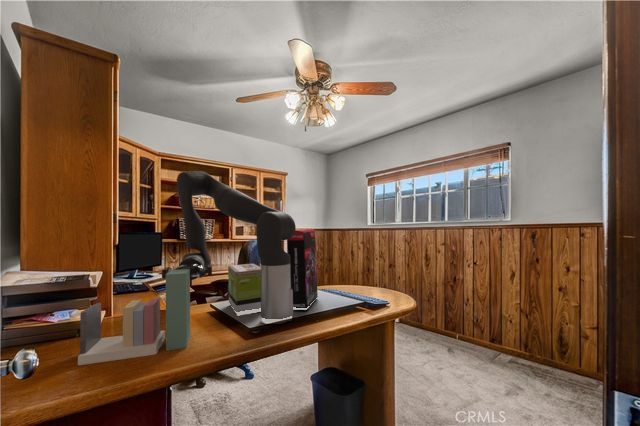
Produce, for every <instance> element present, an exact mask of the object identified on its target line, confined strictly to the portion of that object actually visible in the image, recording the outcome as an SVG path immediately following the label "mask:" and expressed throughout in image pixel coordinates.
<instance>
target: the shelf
mask: <svg viewBox="0 0 640 426" xmlns="http://www.w3.org/2000/svg"><path fill="white" fill-rule="evenodd" d="M142 301H143V299H133V300H131V301H129V303H127V304H126V305H124V307H123V308H122V335H116V336H115V335H114V336H108V337H101V340H100V341H99V342H98V343H97V344H95V345H94V346H93V347H92V348H91V349H90V350H89V351H88V352H87V353H85V354H80V353H79V355H77V366H82V365H91V364H98V363H105V362H113V361H118V360H126V359H131V358H133V359H134V358H140V357H148V356H153V355H154V356H155V355H157V354H158V352H159V350H160V348H161V347H162V345H163V343H164V341H165V340H166V329H165V330H161V297H155V298H154V297H153V298H150V299H149V300H148V301H147V302H142Z"/></svg>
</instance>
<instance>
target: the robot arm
mask: <svg viewBox="0 0 640 426" xmlns="http://www.w3.org/2000/svg"><path fill="white" fill-rule="evenodd" d="M176 188H177V195H178V199H179V202H180V203H179V204H180V209H181V212H182V215H183V221H184V229H185V230H184V231H185V243H186V244H185V245H186V247H187V248H188V249H191V250H196V251H199V252H188V253H185V254H184V255H183V257H182V261H181V262H179V265H178V266H174V267H173V268H171V267H170V266H169V267H164V268H163V269H162V270H161V279H163V280H164V279H165V280H166V274H167V273H168V272H170V271H171V270H182V269H190V281H194V280H196V279H199V278H201V279H203V277H205V276H207V275H208V276H212V275H213V266H212V258H211V256H210V253H209V250H208V247H207V243H206V229H205V224H204V222H203V220H202V218H201V217H200V216H199V214H198V212H197V210H195V207H194V203H193V197H194V196H206V197H207V196H208V197H210V198H212V199H213V203H214V205H215V207H216V208H217V210H219V212H221V213H222V214H224V215H226V216H228V217H230V218H232V219H234V220H237V221H241V222H245V223H249V224H253V225H256V228H255V232H256V247H257V255H258V257H259V262H260V265H259V267H260V272H261V313H260V318H261V317H262V318H265V319H283V318H287V317H290V316H293V317H294V311H293V290H292V288H291V258H290V254H288V253H287V252H286V251H285V249H284V248H283V241H287V239H289V238H291V237H292V236H293V235H294V233H295V230H297V229H296V223H295V220H294V218H293V217H292V216H291V215H289V213H286V212H284V211H281V210H278V209H275V208H272V207H270V206H268V205H265V204H263V203H261V202H260V201H258V200H256V199H254V198H253V197H251V196H249V195H247V194H245V193H243V192H241V191H239V190H237V189H235V188H233V187H231V186H229V185H227V184H225V183H222V182H221V181H219V180H218V179H216V178H214V176H212V175H210V174H208V173H207V172H205V171H202V170H191V171H188V170H187V171H182V172H179V173H178V175H177V178H176Z"/></svg>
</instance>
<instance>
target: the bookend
mask: <svg viewBox="0 0 640 426" xmlns="http://www.w3.org/2000/svg"><path fill="white" fill-rule="evenodd" d="M79 314H80V319H79V320H80V323H79V324H80V328H79V329H80V331H79V333H80V335H79V336H80V337H79V339H80V340H79V341H80V343H79V345H80V347H79V350H80V353H79V355H80V354H85V353H87V352H88V351H89V350H90V349H91V348H92V347H93V346H94V345H95V344H97V343H98V342H99V341H100V340H101V338H102V302H96V303H94V304H92V305H91V306H89V307H87V308H85V309H83V310H82V311H81V312H80V313H79Z"/></svg>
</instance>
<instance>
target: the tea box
mask: <svg viewBox="0 0 640 426" xmlns="http://www.w3.org/2000/svg"><path fill="white" fill-rule="evenodd" d="M227 274H228V275H227V276H228V304H229V303H230V304H231V306H232V307H233V308H234V310H235V311H236V312H240V311H245V310H252V309H259V308H261V272H260V265H257V264H255V263H245V264H243V263H242V264H235V265H228V266H227Z"/></svg>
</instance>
